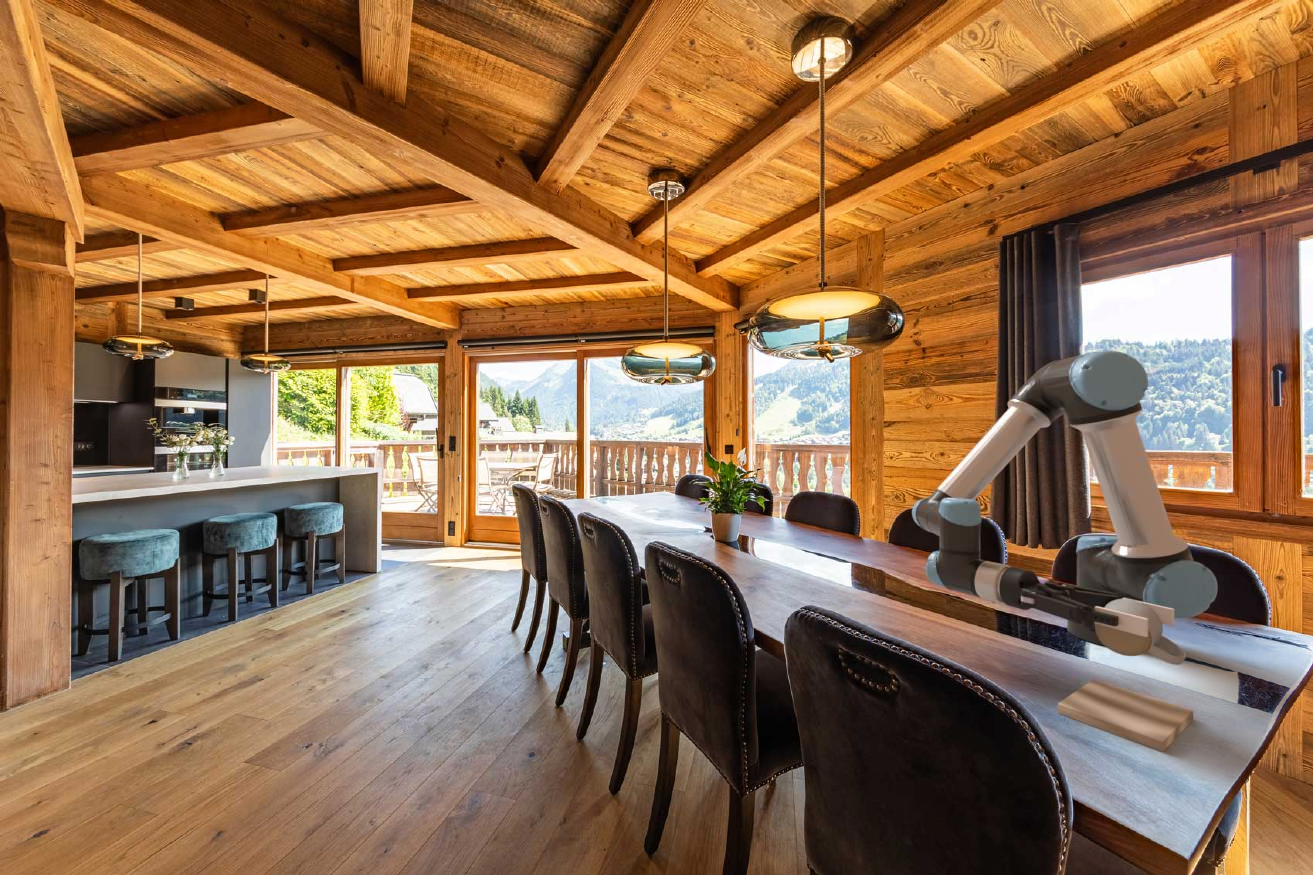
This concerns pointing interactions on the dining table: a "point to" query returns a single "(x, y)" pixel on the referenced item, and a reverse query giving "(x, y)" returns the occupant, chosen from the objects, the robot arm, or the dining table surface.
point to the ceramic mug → (1136, 643)
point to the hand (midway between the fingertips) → (1160, 622)
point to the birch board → (1127, 714)
